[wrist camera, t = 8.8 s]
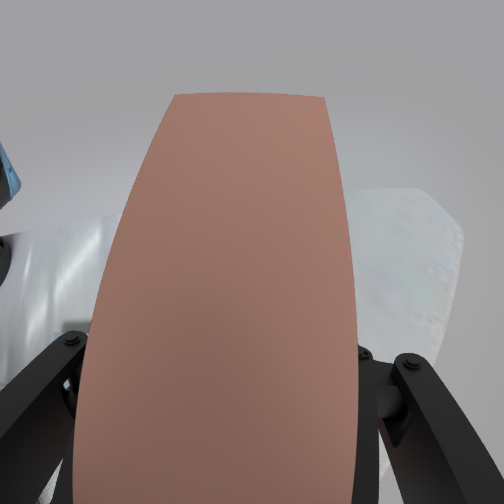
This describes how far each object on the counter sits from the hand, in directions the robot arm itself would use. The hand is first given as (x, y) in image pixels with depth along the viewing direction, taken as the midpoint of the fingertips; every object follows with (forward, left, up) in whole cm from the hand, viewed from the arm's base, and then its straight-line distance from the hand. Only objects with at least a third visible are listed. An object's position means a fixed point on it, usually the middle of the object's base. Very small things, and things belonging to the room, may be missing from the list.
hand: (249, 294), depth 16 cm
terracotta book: (+4, 0, -6) cm, 7 cm away
